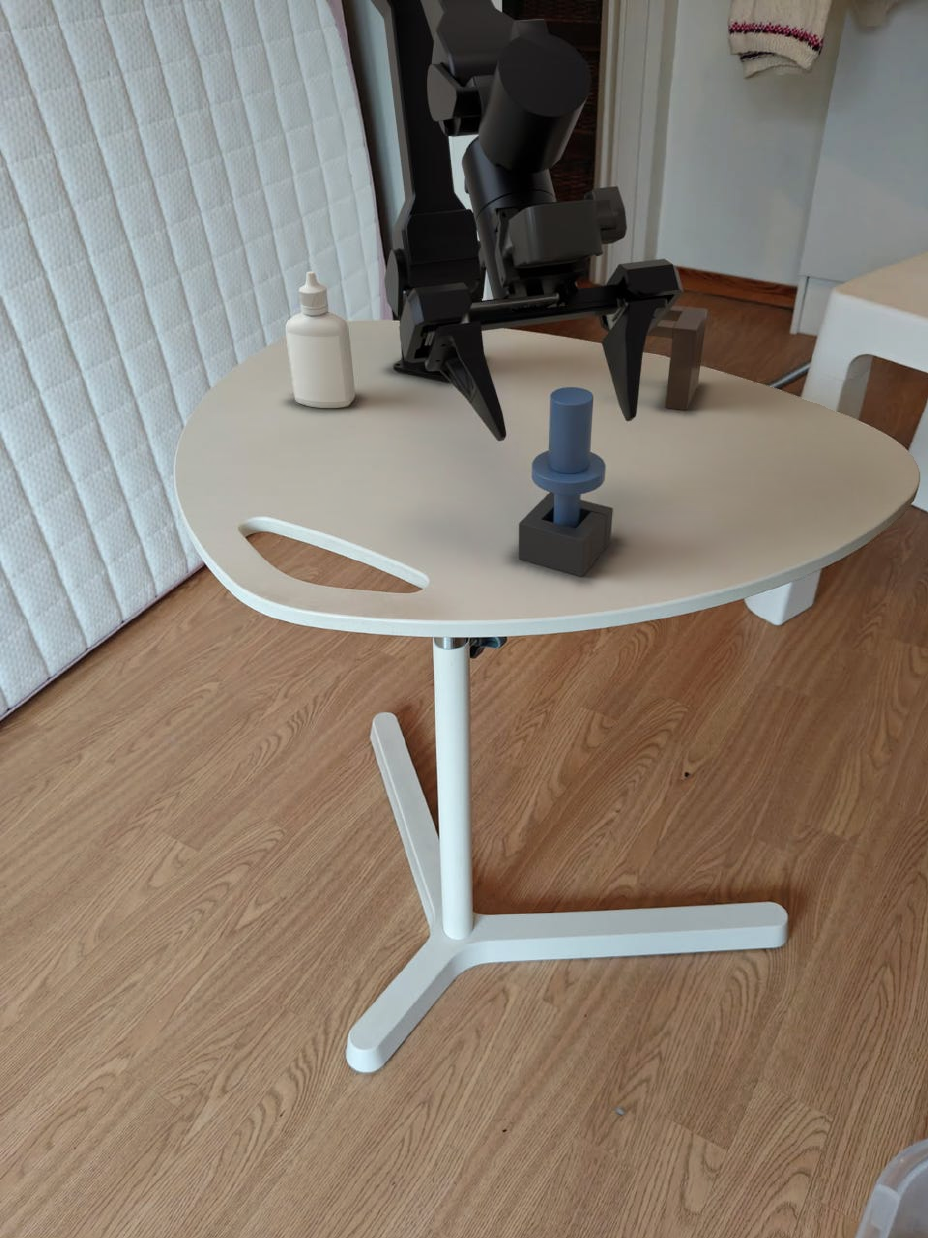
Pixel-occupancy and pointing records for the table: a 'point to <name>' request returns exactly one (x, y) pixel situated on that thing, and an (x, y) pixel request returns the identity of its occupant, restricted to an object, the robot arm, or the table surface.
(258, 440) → the table surface
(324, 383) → the eye dropper bottle
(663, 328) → the stand
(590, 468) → the peg
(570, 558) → the holder
